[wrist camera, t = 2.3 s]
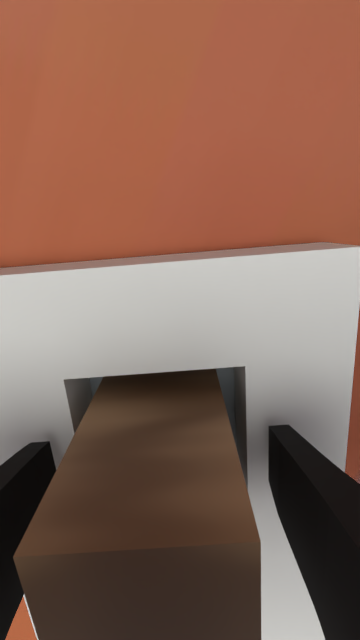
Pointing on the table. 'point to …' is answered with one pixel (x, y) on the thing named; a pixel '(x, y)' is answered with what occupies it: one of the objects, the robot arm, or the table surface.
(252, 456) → the pocket board
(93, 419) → the walnut block
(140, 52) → the table surface
